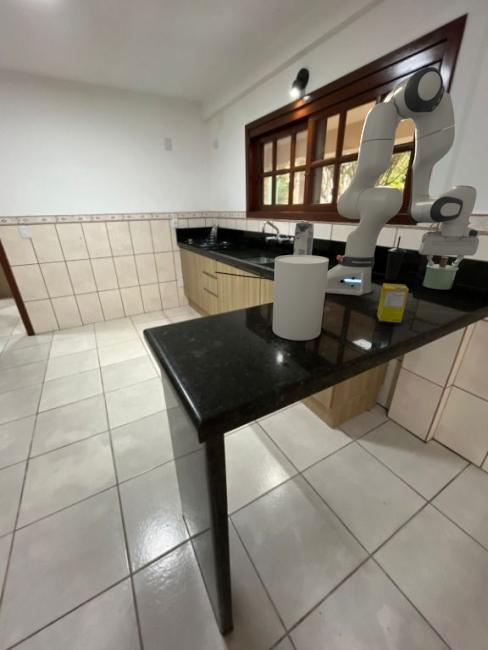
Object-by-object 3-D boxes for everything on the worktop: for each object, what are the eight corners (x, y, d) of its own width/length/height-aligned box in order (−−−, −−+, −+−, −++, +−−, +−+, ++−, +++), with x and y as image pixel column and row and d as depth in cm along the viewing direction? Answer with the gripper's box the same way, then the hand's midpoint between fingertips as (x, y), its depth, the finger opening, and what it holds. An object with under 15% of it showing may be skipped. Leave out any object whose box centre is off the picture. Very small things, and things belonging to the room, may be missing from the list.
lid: (433, 271, 107) (436, 259, 105) (421, 266, 117) (424, 254, 115) (463, 272, 105) (468, 259, 103) (448, 267, 115) (452, 255, 113)
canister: (262, 328, 76) (264, 258, 68) (294, 317, 84) (299, 253, 76) (297, 345, 66) (304, 266, 58) (330, 331, 74) (339, 259, 66)
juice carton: (310, 270, 149) (315, 219, 138) (308, 274, 140) (312, 220, 129) (295, 269, 152) (298, 219, 141) (291, 273, 143) (294, 220, 132)
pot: (428, 290, 111) (434, 270, 107) (418, 284, 120) (423, 265, 116) (455, 291, 109) (462, 270, 106) (442, 284, 118) (448, 265, 115)
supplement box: (396, 318, 82) (405, 284, 78) (400, 325, 77) (409, 289, 73) (376, 316, 84) (382, 282, 80) (378, 323, 79) (385, 287, 75)
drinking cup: (402, 280, 126) (413, 237, 118) (386, 280, 126) (396, 237, 118) (394, 277, 133) (403, 235, 125) (379, 277, 133) (387, 235, 125)
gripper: (427, 231, 104) (418, 266, 110) (485, 232, 101) (473, 268, 106) (420, 230, 110) (412, 264, 115) (475, 230, 107) (464, 265, 112)
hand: (442, 266), depth 111 cm, fingers open, 8 cm apart
